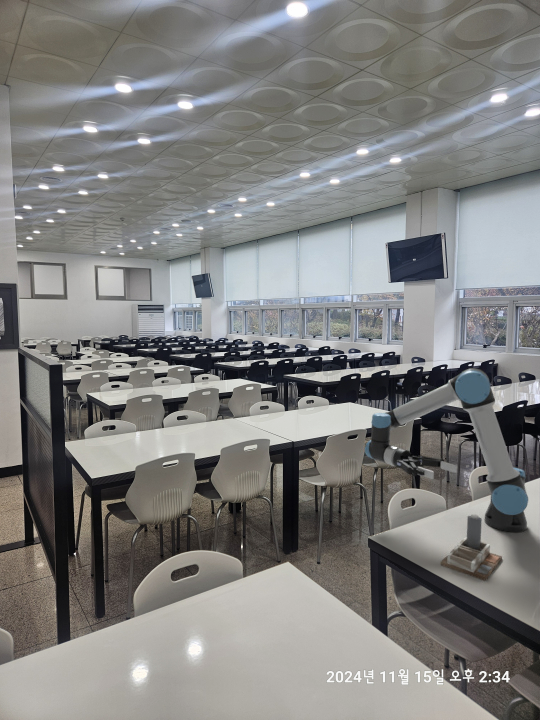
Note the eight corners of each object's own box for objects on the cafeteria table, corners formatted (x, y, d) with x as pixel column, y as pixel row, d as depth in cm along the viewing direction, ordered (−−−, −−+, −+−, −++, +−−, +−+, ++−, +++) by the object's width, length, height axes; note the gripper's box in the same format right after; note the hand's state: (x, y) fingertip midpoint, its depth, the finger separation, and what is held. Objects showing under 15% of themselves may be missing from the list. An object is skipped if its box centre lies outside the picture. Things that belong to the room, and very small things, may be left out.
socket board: (459, 545, 168) (460, 534, 167) (501, 559, 159) (502, 547, 158) (440, 564, 154) (441, 553, 154) (485, 580, 145) (486, 568, 145)
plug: (469, 548, 164) (470, 512, 163) (482, 553, 160) (483, 516, 160) (464, 552, 161) (465, 515, 160) (477, 556, 157) (478, 519, 157)
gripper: (418, 462, 193) (465, 476, 175) (376, 471, 179) (422, 488, 161) (419, 444, 192) (466, 457, 175) (376, 452, 178) (423, 467, 161)
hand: (445, 472), depth 168 cm, fingers open, 13 cm apart
